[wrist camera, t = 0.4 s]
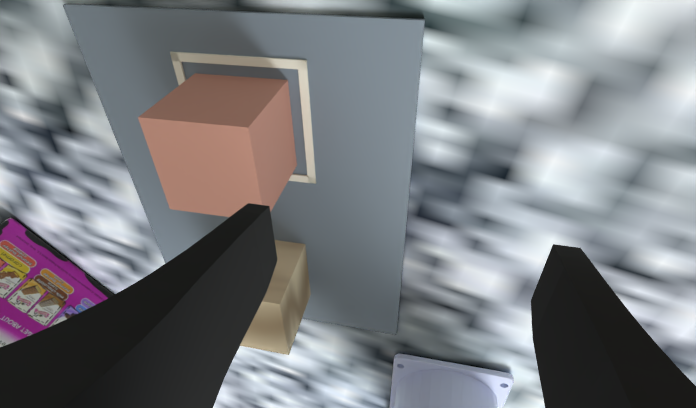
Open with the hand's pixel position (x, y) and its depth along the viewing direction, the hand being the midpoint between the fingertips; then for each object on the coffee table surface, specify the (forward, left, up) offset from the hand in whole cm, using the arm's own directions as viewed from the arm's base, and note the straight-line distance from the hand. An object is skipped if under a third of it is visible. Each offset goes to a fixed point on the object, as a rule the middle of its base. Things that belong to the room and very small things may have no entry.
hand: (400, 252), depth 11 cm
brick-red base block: (-2, +8, -9) cm, 13 cm away
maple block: (-12, +8, -9) cm, 17 cm away
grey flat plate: (-7, +8, -9) cm, 14 cm away
